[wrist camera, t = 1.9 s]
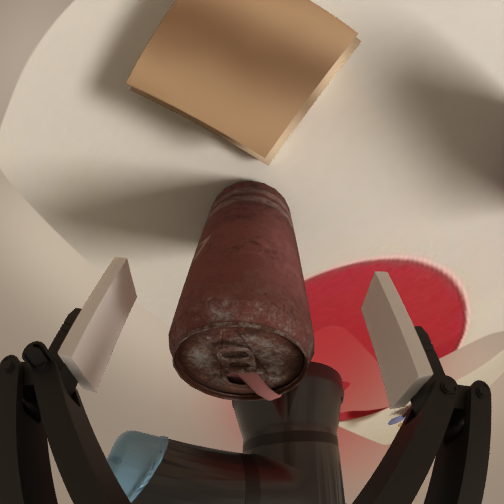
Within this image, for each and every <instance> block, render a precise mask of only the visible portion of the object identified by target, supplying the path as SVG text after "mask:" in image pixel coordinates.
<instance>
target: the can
mask: <svg viewBox="0 0 504 504" xmlns="http://www.w3.org/2000/svg"><path fill="white" fill-rule="evenodd" d="M169 347H170V352H171V354H172V357H173V366H174V368H175V370H176V371H177V373H178V375H179V376H180V377H181V378H182V379H183V380H184V381H185V382H187V383H188V384H189V385H190V386H191V387H193V388H195V389H197V390H200V391H201V392H203V393H205V394H208V395H211V396H215V397H218V398H222V399H228V400H236V401H255V400H263V399H266V400H268V401H270V400H274V399H276V398H279V397H280V396H281V395H282V394H284V393H286V392H288V391H290V390H292V389H293V388H294V387H296V386H297V385H298V384H299V383H301V382H302V380H303V379H304V377H305V375H306V374H307V372H308V365H309V363H310V361H311V359H312V357H313V355H314V335H313V329H312V323H311V317H310V311H309V305H308V300H307V294H306V289H305V283H304V278H303V273H302V268H301V263H300V258H299V253H298V248H297V243H296V238H295V233H294V228H293V223H292V219H291V214H290V210H289V207H288V205H287V203H286V201H285V199H284V197H283V196H282V195H281V194H280V193H279V192H278V191H277V190H276V189H274V188H272V187H270V186H268V185H266V184H264V183H259V182H253V181H247V182H240V183H236V184H234V185H232V186H230V187H228V188H226V189H224V190H223V191H222V192H221V193H220V194H219V195H218V196H217V197H216V199H215V201H214V203H213V205H212V208H211V210H210V213H209V216H208V218H207V221H206V224H205V227H204V229H203V232H202V235H201V238H200V240H199V243H198V246H197V249H196V252H195V255H194V258H193V260H192V263H191V266H190V269H189V272H188V275H187V278H186V281H185V284H184V287H183V290H182V293H181V296H180V299H179V303H178V306H177V309H176V312H175V315H174V318H173V322H172V325H171V328H170V331H169Z"/></svg>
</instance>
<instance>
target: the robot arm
mask: <svg viewBox="0 0 504 504" xmlns="http://www.w3.org/2000/svg"><path fill="white" fill-rule="evenodd" d="M136 298H137V295H136V292H135V288H134V284H133V280H132V276H131V272H130V268H129V264H128V260H127V258H118V257H115V258H114V259H113V261H112V262H111V264H110V265H109V267H108V268H107V270H106V271H105V273H104V274H103V276H102V277H101V279H100V280H99V282H98V284H97V285H96V287H95V289H94V290H93V292H92V293H91V295H90V296H89V298H88V300H87V301H86V303H85V305H84V306H83V308H82V309H79V308H75V309H74V310H73V311H72V312H71V313H70V314H69V315H68V316H67V318H66V319H65V321H64V324H63V325H62V327H61V328H60V330H59V332H58V333H57V335H56V337H55V338H54V340H53V342H52V344H51V346H50V348H49V349H47V348H46V346H45V345H44V344H43V343H42V342H39V341H36V342H32V343H30V344H29V345H27V346H26V348H25V349H24V351H23V353H22V358H23V360H24V361H25V362H20V361H19V359H18V358H17V357H16V356H14V355H9V356H7V357H5V358H4V359H3V360H2V361H1V363H0V504H58V503H57V498H56V494H55V489H54V484H53V479H52V473H51V466H50V460H49V452H48V444H47V443H48V442H49V445H50V448H51V450H52V453H53V456H54V459H55V462H56V464H57V467H58V469H59V472H60V474H61V477H62V479H63V482H64V484H65V486H66V488H67V491H68V493H69V495H70V497H71V499H72V501H73V503H74V504H346V503H345V498H344V488H343V479H342V471H341V463H340V454H339V448H338V439H337V429H338V424H339V418H340V407H341V404H342V402H343V399H344V388H343V383H342V378H341V376H340V374H339V373H338V372H337V371H336V370H334V369H333V368H331V367H329V366H327V365H324V364H321V363H316V362H310V363H309V365H308V372H307V374H306V375H305V377H304V379H303V380H302V382H301V383H299V384H298V385H297V386H296V387H294V388H293V389H292V390H290V391H288V392H286V393H284V394H282V395H281V396H280V397H279V398H276V399H274V400H270V401H268V400H266V399H263V400H255V401H236V400H232V405H233V408H234V410H235V414H236V418H237V421H238V424H239V428H240V431H241V434H242V436H243V453H236V452H229V451H223V450H217V449H211V448H206V447H201V446H196V445H192V444H187V443H183V442H179V441H175V440H171V439H168V437H165V436H160V437H159V436H154V435H150V434H146V433H142V432H138V431H126V432H124V433H122V434H121V435H120V436H119V437H118V438H117V440H116V441H115V443H114V446H113V447H112V449H111V451H110V454H109V456H108V458H107V460H106V458H105V456H104V453H103V452H102V450H101V447H100V445H99V443H98V441H97V439H96V436H95V434H94V432H93V429H92V427H91V425H90V423H89V420H88V417H87V415H86V413H85V410H84V407H83V405H82V402H81V399H80V396H79V393H78V391H77V389H76V386H77V383H79V384H80V385H81V387H82V388H83V389H86V390H89V391H92V392H97V390H98V387H99V384H100V382H101V379H102V376H103V374H104V371H105V369H106V366H107V364H108V361H109V359H110V356H111V354H112V352H113V349H114V347H115V344H116V342H117V340H118V337H119V335H120V333H121V330H122V328H123V326H124V324H125V321H126V319H127V317H128V315H129V312H130V310H131V308H132V306H133V304H134V302H135V300H136ZM361 310H362V313H363V316H364V319H365V322H366V325H367V328H368V331H369V335H370V338H371V341H372V344H373V347H374V351H375V354H376V357H377V361H378V364H379V368H380V371H381V375H382V378H383V382H384V386H385V390H386V393H387V397H388V401H389V405H390V409H394V408H400V407H405V406H406V404H407V403H408V402H409V401H411V404H412V407H411V408H410V409H409V410H408V411H407V412H406V413H405V414H404V415H403V416H402V417H403V418H404V417H405V416H406V417H405V419H404V421H403V423H402V425H401V427H400V429H399V431H398V433H397V435H396V437H395V438H394V440H393V442H392V444H391V446H390V448H389V449H388V451H387V453H386V454H385V456H384V457H383V459H382V461H381V462H380V464H379V466H378V467H377V469H376V470H375V472H374V473H373V475H372V477H371V478H370V479H369V481H368V482H367V484H366V485H365V487H364V488H363V489H362V491H361V492H360V494H359V495H358V496H357V498H356V499H355V500H354V502H353V503H352V504H411V503H412V502H413V500H414V498H415V496H416V495H417V493H418V491H419V489H420V487H421V485H422V483H423V482H424V480H425V477H426V475H427V474H428V471H429V469H430V467H431V465H432V463H433V461H434V458H435V456H436V458H435V462H434V467H433V471H432V476H431V480H430V483H429V487H428V491H427V494H426V498H425V501H424V504H481V503H482V498H483V493H484V488H485V482H486V476H487V469H488V460H489V451H490V437H491V392H490V388H489V386H488V385H487V384H486V383H485V382H483V381H480V380H477V381H475V382H474V383H473V384H472V385H471V386H463V385H457V383H456V381H455V380H454V379H453V378H451V377H449V376H446V375H445V373H444V371H443V368H442V366H441V363H440V361H439V359H438V356H437V354H436V352H435V351H434V347H433V345H432V344H431V340H430V338H429V336H428V334H427V333H426V332H425V330H424V329H423V328H422V327H421V326H416V327H414V326H413V324H412V321H411V319H410V317H409V315H408V313H407V311H406V309H405V306H404V304H403V302H402V300H401V298H400V296H399V294H398V292H397V290H396V288H395V286H394V284H393V282H392V280H391V278H390V276H389V275H388V273H387V272H375V273H374V275H373V278H372V281H371V284H370V287H369V289H368V292H367V295H366V297H365V300H364V303H363V305H362V308H361ZM47 438H48V442H47Z"/></svg>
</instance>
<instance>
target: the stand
mask: <svg viewBox="0 0 504 504" xmlns="http://www.w3.org/2000/svg"><path fill="white" fill-rule="evenodd" d="M357 35H358V33H357V32H356V31H354V30H353V29H352V28H350V27H349V26H348V25H346V24H345V23H343V22H342V21H341V20H339V19H338V18H336V17H335V16H333V15H332V14H330V13H329V12H327V11H326V10H324V9H323V8H321V7H320V6H318V5H316V4H315V3H313V2H312V1H310V0H176V2H175V3H174V4H173V6H172V7H171V9H170V10H169V11H168V13H167V14H166V16H165V17H164V19H163V20H162V22H161V23H160V25H159V26H158V28H157V29H156V31H155V33H154V34H153V36H152V37H151V39H150V41H149V42H148V44H147V46H146V47H145V49H144V51H143V53H142V54H141V56H140V58H139V60H138V61H137V63H136V65H135V67H134V69H133V71H132V73H131V75H130V76H129V78H128V80H127V82H126V84H128V85H131V86H132V87H131V89H130V90H131V91H133V92H135V93H138V94H140V95H142V96H144V97H146V98H148V99H150V100H152V101H154V102H156V103H158V104H160V105H162V106H164V107H166V108H168V109H170V110H172V111H174V112H176V113H178V114H180V115H182V116H183V117H185V118H187V119H189V120H191V121H193V122H195V123H196V124H198V125H200V126H202V127H204V128H206V129H207V130H209V131H211V132H213V133H214V134H216V135H218V136H220V137H222V138H223V139H225V140H227V141H228V142H230V143H232V144H234V145H235V146H237V147H239V148H240V149H242V150H244V151H245V152H247V153H249V154H250V155H252V156H254V157H255V158H257V159H258V160H260V161H262V162H263V163H265V164H267V165H268V166H269V164H270V163H271V161H272V160H273V158H274V157H275V156H276V154H277V153H278V151H279V150H280V149H281V147H282V146H283V144H284V143H285V142H286V140H287V139H288V138H289V136H290V135H291V133H292V132H293V131H294V129H295V128H296V127H297V125H298V124H299V122H300V121H301V120H302V118H303V117H304V116H305V114H306V113H307V112H308V110H309V109H310V108H311V106H312V105H313V103H314V102H315V101H316V99H317V98H318V97H319V95H320V94H321V93H322V91H323V90H324V89H325V88H326V86H327V85H328V84H329V82H330V81H331V80H332V78H333V77H334V76H335V74H336V73H337V72H338V71H339V69H340V68H341V67H342V65H343V64H344V63H345V62H346V60H347V59H348V58H349V56H350V55H351V54H352V53H353V51H354V50H355V49H356V48H357V46H358V45H359V44H360V43H361V41H360V40H359V39H358V38H356V36H357Z"/></svg>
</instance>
